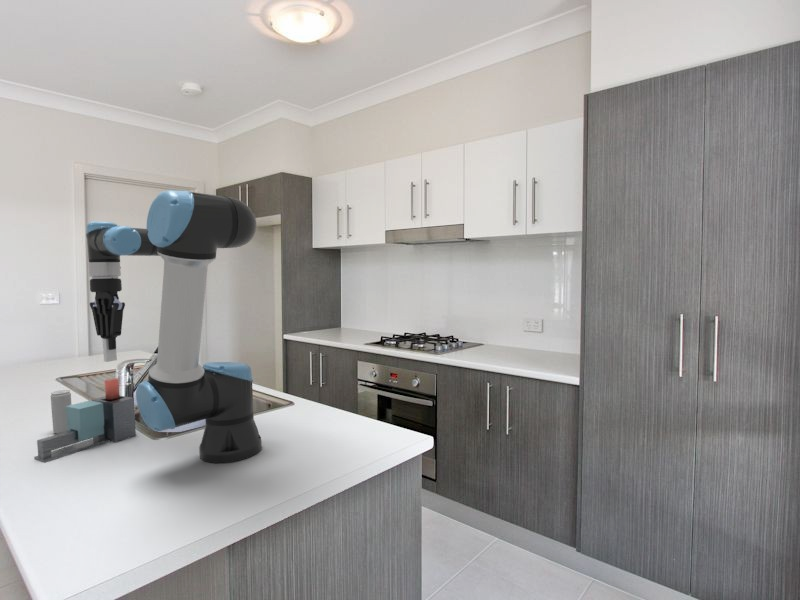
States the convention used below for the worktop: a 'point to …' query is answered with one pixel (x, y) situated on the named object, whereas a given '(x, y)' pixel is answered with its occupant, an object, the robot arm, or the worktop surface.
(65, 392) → the beverage can
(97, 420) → the carriage
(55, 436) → the rail station
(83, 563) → the worktop surface
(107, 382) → the red block
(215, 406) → the robot arm
